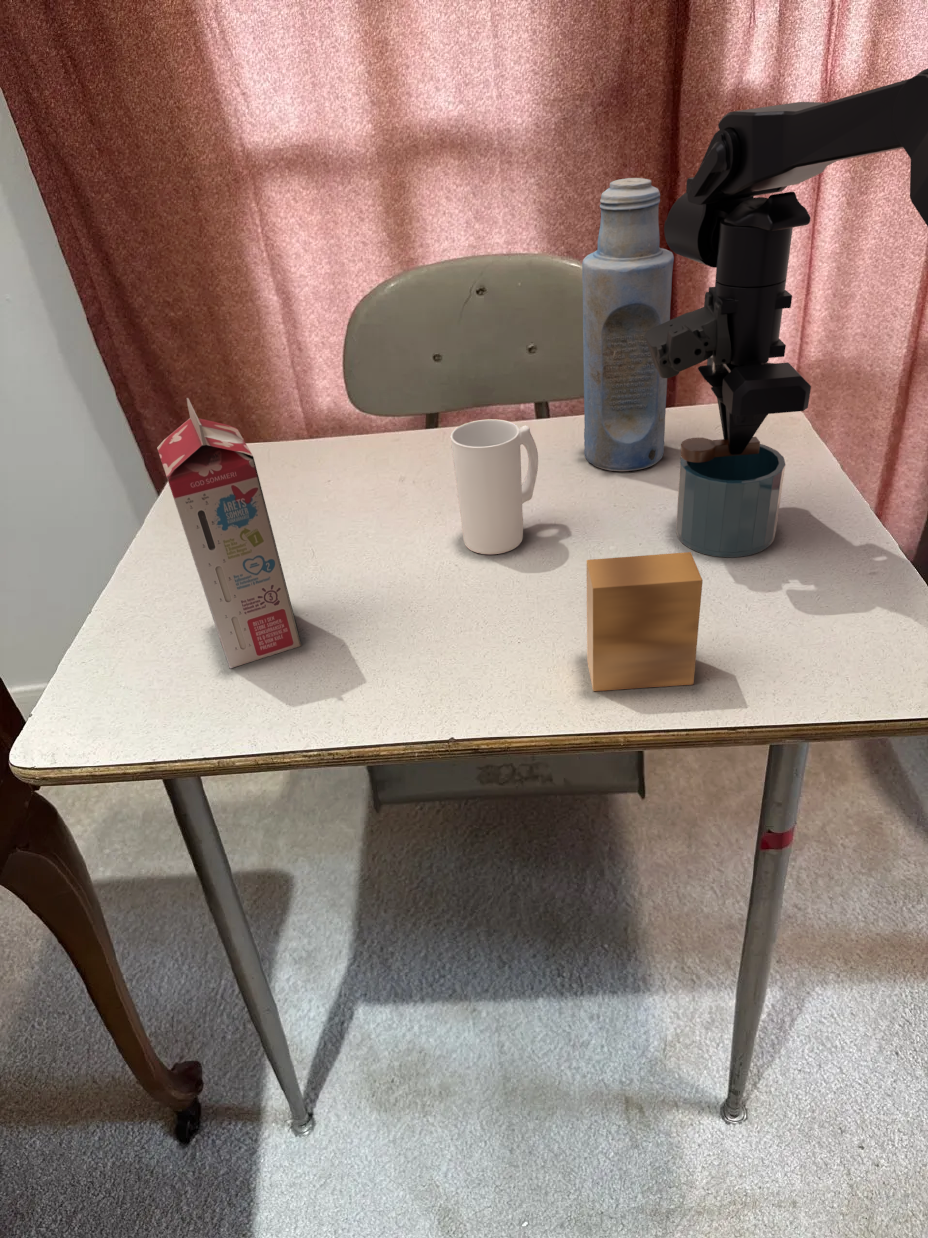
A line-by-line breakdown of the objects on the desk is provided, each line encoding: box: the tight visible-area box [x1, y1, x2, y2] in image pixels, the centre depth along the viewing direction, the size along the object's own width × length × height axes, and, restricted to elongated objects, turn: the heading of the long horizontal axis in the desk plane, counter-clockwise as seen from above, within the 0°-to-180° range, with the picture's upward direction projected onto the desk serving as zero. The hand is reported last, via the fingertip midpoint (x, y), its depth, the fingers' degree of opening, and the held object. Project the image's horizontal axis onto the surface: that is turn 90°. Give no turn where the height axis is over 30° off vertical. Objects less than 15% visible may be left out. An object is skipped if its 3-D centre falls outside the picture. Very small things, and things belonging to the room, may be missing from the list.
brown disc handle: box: [680, 436, 761, 463], centre depth 80 cm, size 7×3×1 cm, turn 90°
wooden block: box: [586, 551, 703, 692], centre depth 66 cm, size 8×4×10 cm, turn 90°
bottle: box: [581, 177, 675, 472], centre depth 93 cm, size 10×10×30 cm
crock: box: [675, 443, 786, 558], centre depth 83 cm, size 10×10×8 cm
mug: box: [449, 418, 539, 555], centre depth 85 cm, size 10×7×12 cm, turn 129°
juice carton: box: [156, 397, 303, 669], centre depth 71 cm, size 7×7×22 cm
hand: (733, 450), depth 80 cm, fingers closed on brown disc handle, 1 cm apart
